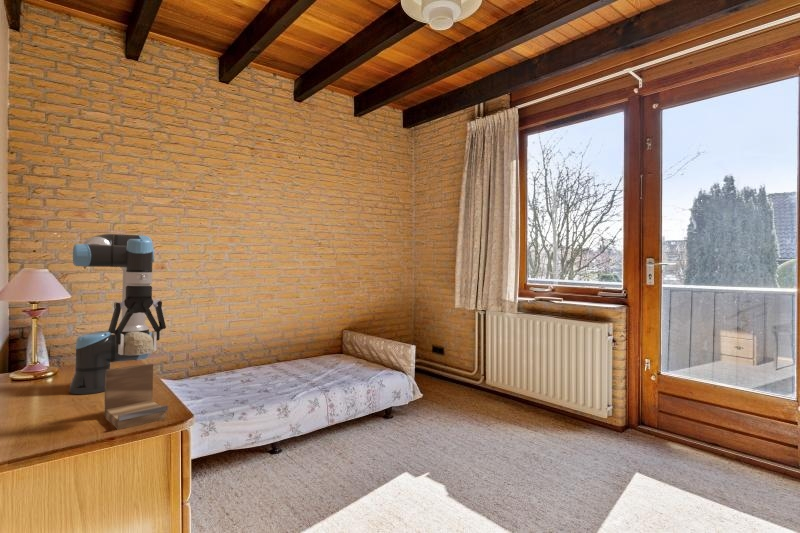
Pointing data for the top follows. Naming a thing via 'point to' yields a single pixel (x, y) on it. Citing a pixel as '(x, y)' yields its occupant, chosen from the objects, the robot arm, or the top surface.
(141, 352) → the sponge
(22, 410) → the top surface
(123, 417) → the board
